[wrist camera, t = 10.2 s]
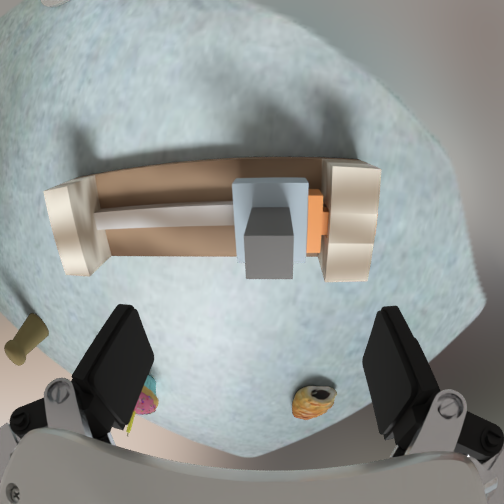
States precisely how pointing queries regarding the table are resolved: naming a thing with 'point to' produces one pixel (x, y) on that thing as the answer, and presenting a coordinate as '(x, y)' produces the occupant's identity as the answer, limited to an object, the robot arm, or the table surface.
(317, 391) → the pastry
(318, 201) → the button
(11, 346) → the cork
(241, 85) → the table surface
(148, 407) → the cupcake
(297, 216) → the carriage
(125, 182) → the rail bench
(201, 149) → the table surface
